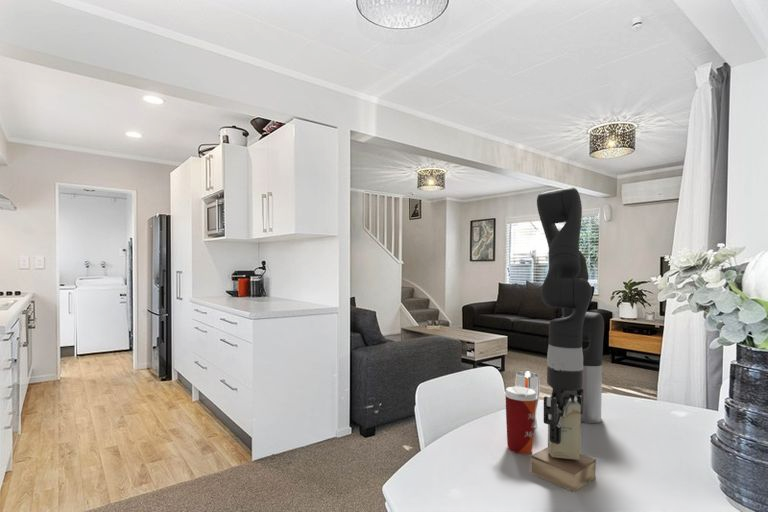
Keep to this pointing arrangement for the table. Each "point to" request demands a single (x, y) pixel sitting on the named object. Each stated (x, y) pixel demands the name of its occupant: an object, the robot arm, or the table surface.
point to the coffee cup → (520, 418)
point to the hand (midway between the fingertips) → (563, 438)
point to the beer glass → (529, 385)
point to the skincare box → (567, 434)
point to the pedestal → (563, 469)
